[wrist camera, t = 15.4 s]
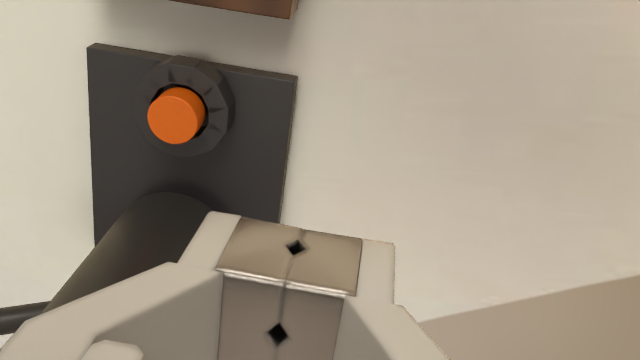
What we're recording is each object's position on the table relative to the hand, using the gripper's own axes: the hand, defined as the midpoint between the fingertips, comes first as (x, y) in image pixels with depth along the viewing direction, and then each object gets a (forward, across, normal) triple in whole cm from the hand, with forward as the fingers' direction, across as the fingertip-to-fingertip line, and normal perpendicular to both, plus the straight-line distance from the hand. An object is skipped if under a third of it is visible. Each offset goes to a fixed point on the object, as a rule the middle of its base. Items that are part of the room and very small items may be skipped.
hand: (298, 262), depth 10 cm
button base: (+28, +10, +14) cm, 33 cm away
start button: (+25, +10, +8) cm, 29 cm away
